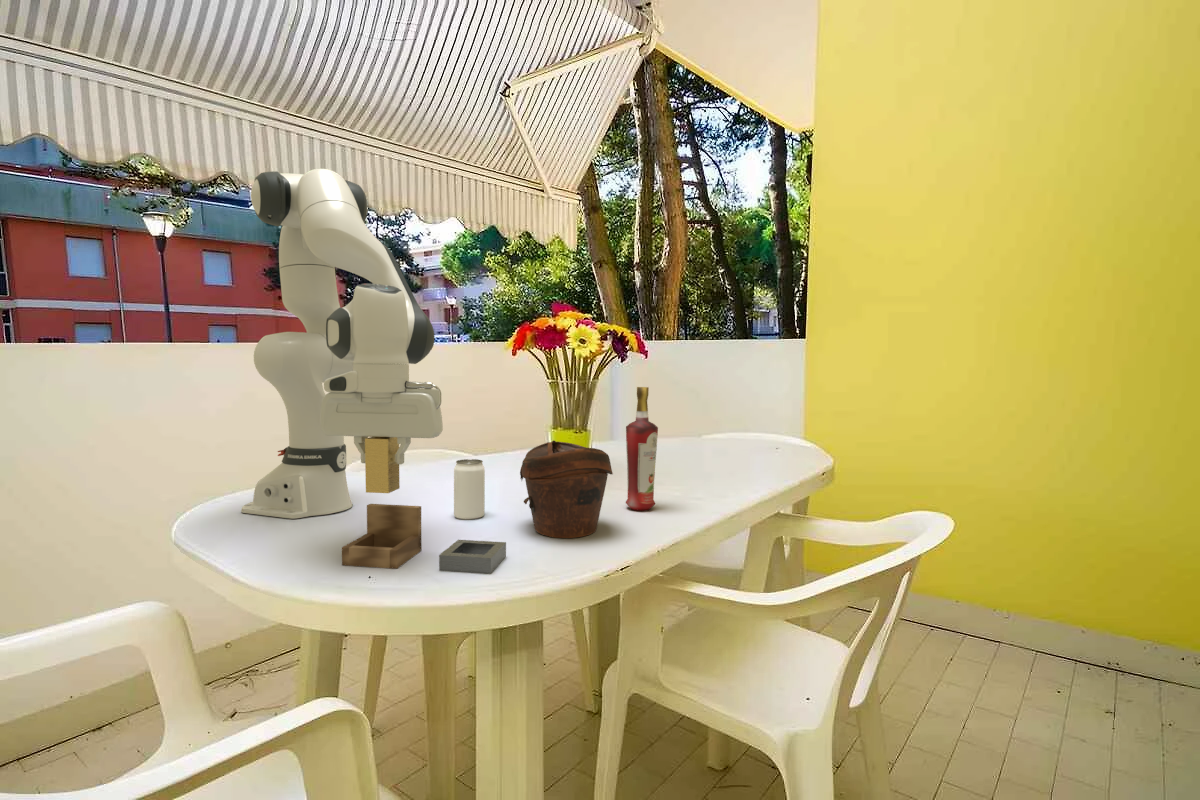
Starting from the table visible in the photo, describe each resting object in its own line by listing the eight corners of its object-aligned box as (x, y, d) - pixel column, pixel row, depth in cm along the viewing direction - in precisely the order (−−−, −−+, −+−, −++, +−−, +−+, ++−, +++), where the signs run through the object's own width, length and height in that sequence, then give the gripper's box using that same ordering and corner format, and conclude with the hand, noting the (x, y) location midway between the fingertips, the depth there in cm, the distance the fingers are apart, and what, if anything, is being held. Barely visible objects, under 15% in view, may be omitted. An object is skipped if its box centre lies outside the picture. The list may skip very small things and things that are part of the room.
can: (488, 513, 136) (488, 459, 136) (479, 520, 130) (479, 464, 129) (459, 511, 137) (459, 458, 136) (449, 519, 131) (449, 463, 130)
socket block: (439, 570, 100) (439, 555, 100) (458, 553, 108) (458, 539, 108) (490, 573, 99) (490, 558, 98) (506, 556, 107) (506, 542, 107)
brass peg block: (365, 492, 103) (364, 414, 102) (377, 487, 107) (376, 412, 106) (388, 493, 102) (387, 415, 101) (399, 488, 106) (398, 412, 105)
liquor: (638, 503, 148) (640, 386, 146) (662, 508, 143) (665, 387, 141) (617, 508, 143) (620, 386, 141) (642, 514, 138) (644, 388, 136)
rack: (342, 565, 101) (341, 517, 101) (370, 547, 111) (370, 503, 110) (397, 568, 100) (396, 520, 100) (421, 550, 110) (421, 506, 109)
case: (549, 512, 138) (549, 432, 136) (629, 526, 128) (630, 440, 126) (497, 532, 122) (497, 442, 121) (583, 550, 112) (584, 452, 111)
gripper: (448, 381, 105) (448, 462, 106) (335, 380, 108) (337, 458, 109) (433, 382, 99) (434, 468, 100) (314, 381, 102) (316, 464, 102)
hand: (382, 463), depth 104 cm, fingers closed on brass peg block, 4 cm apart
